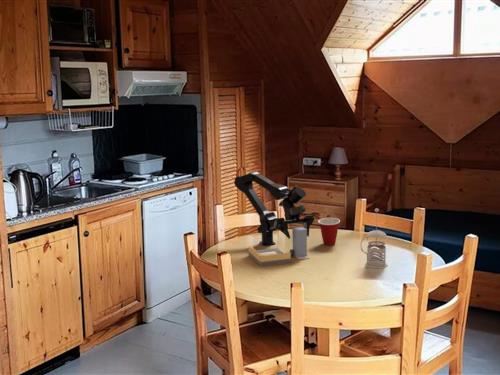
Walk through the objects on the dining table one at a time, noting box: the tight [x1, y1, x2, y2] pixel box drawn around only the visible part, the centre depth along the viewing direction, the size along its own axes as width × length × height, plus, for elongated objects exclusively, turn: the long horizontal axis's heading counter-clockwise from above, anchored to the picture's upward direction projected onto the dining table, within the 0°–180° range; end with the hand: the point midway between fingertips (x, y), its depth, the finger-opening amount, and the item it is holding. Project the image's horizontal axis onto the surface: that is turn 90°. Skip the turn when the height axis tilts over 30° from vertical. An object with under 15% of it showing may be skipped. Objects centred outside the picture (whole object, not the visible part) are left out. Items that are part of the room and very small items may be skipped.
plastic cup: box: [317, 217, 341, 246], centre depth 289 cm, size 11×11×12 cm
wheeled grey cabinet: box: [289, 226, 310, 260], centre depth 269 cm, size 8×7×13 cm
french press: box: [360, 208, 389, 269], centre depth 253 cm, size 10×12×25 cm
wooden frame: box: [248, 245, 292, 267], centre depth 267 cm, size 18×14×4 cm
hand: (299, 237), depth 270 cm, fingers open, 9 cm apart
